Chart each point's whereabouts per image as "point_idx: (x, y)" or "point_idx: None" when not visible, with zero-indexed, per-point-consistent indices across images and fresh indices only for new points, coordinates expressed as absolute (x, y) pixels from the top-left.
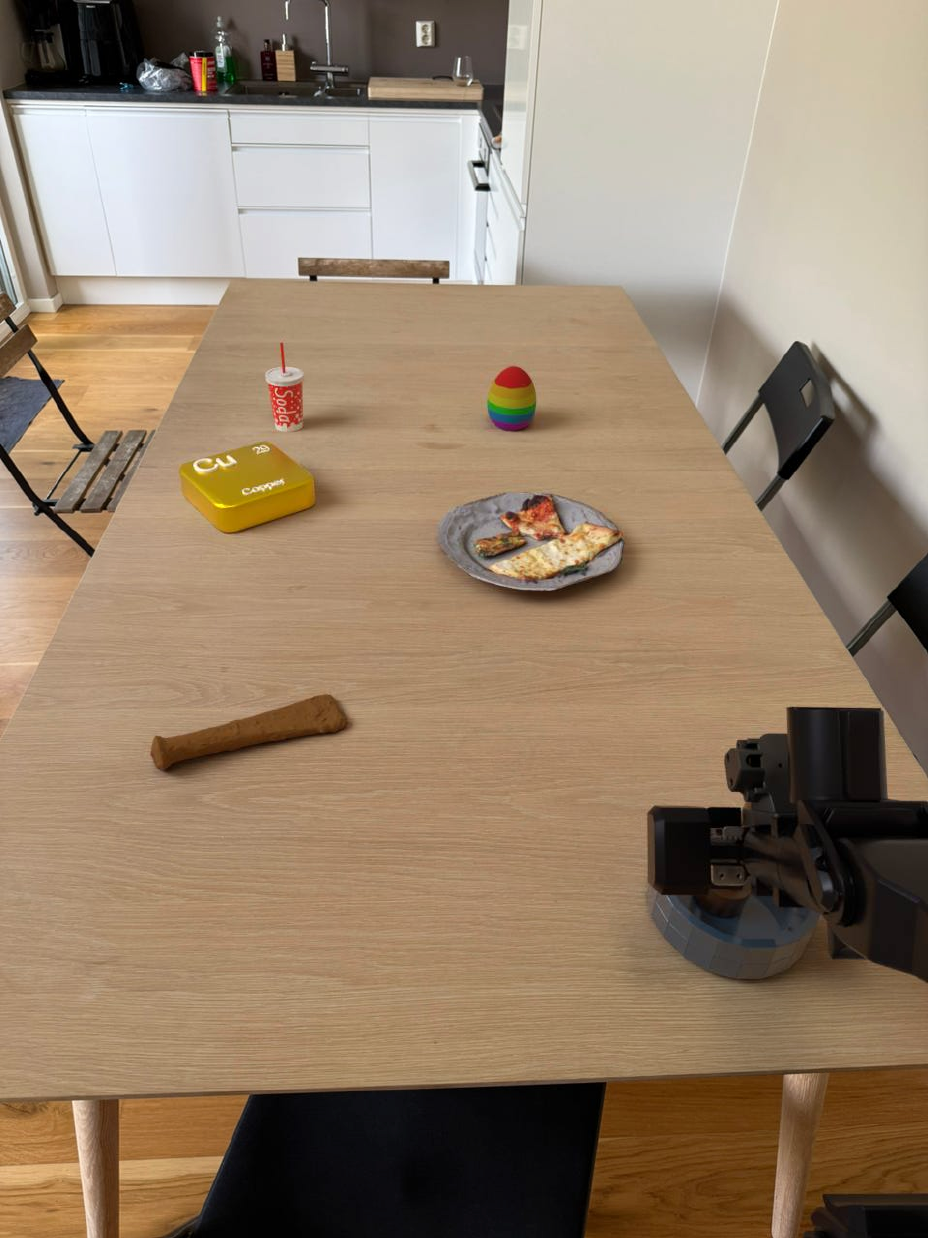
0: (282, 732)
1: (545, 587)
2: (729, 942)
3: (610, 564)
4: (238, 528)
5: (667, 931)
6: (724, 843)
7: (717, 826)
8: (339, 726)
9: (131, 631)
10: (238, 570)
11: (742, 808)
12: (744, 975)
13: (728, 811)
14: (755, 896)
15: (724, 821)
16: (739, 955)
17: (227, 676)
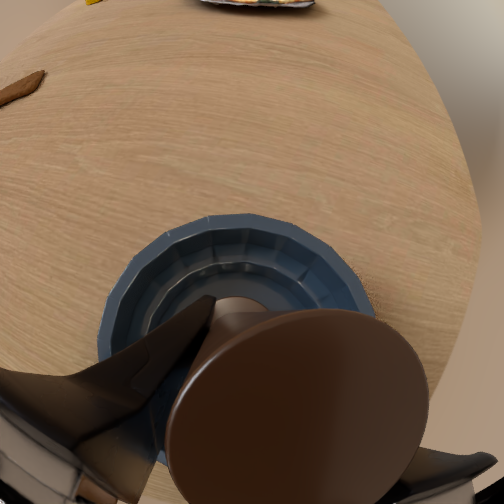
0: (1, 99)
1: (236, 3)
2: (163, 463)
3: (297, 5)
4: (93, 1)
5: None
6: (13, 495)
7: (13, 424)
8: (28, 90)
9: (13, 56)
10: (75, 17)
11: (208, 338)
12: None
13: (21, 420)
14: None
15: (26, 430)
16: None
17: (20, 69)
